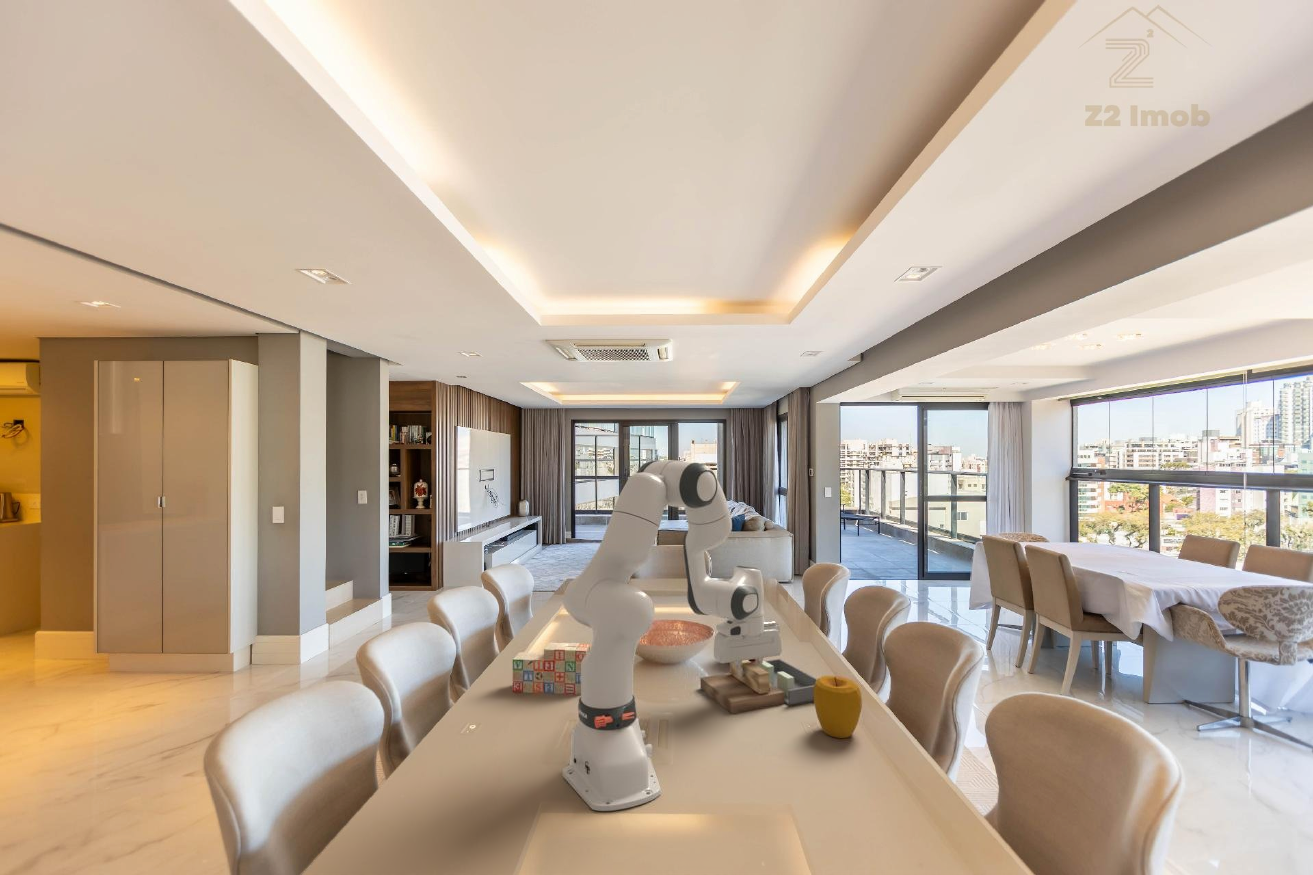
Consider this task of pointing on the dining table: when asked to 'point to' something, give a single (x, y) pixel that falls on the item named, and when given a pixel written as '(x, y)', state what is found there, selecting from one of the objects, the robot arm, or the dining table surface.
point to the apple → (837, 705)
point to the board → (739, 693)
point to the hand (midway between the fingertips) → (748, 674)
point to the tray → (795, 683)
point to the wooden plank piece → (752, 676)
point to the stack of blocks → (550, 669)
